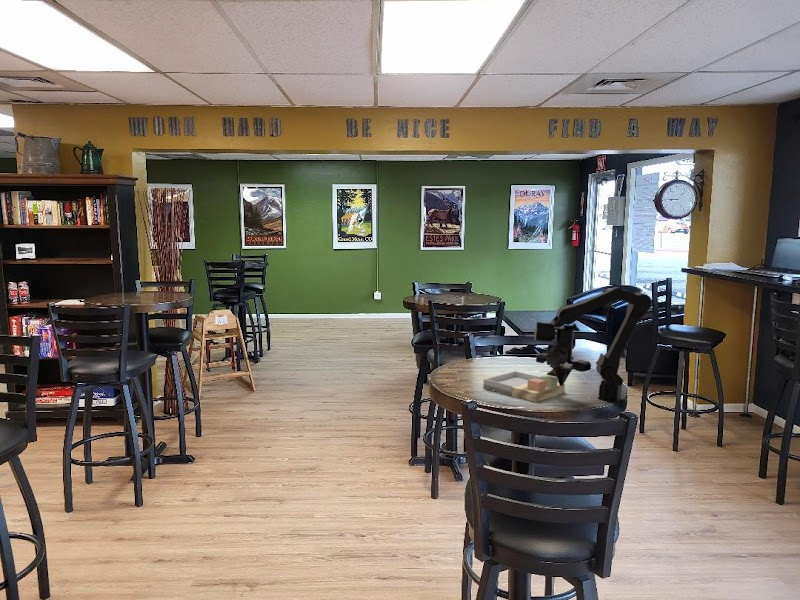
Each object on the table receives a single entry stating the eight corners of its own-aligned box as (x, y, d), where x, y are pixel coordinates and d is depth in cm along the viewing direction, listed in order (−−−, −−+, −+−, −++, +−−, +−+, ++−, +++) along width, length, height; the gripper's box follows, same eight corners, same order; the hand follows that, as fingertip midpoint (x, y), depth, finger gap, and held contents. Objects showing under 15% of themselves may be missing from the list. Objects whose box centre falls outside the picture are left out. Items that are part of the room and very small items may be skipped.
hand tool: (556, 382, 220) (556, 371, 219) (545, 381, 222) (546, 369, 221) (566, 373, 236) (567, 362, 236) (556, 371, 238) (557, 361, 238)
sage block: (557, 385, 204) (557, 377, 203) (550, 387, 201) (551, 379, 200) (546, 382, 207) (546, 374, 206) (539, 384, 204) (540, 376, 203)
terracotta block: (545, 388, 198) (545, 380, 198) (538, 391, 195) (538, 382, 195) (534, 386, 201) (534, 378, 201) (527, 388, 198) (527, 380, 198)
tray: (541, 386, 213) (541, 377, 212) (510, 395, 199) (510, 386, 199) (514, 379, 221) (514, 371, 221) (483, 388, 208) (483, 379, 207)
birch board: (564, 392, 205) (565, 384, 205) (535, 402, 192) (536, 393, 192) (540, 386, 212) (541, 378, 212) (511, 395, 199) (511, 387, 199)
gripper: (528, 340, 199) (526, 383, 201) (577, 349, 186) (574, 395, 188) (545, 337, 207) (542, 378, 209) (593, 345, 194) (590, 389, 195)
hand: (561, 385), depth 200 cm, fingers closed
